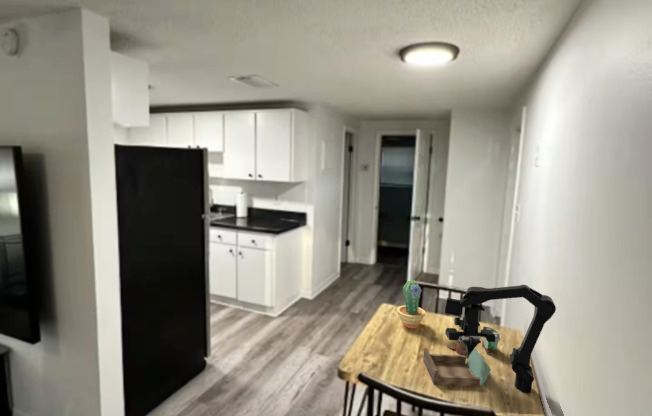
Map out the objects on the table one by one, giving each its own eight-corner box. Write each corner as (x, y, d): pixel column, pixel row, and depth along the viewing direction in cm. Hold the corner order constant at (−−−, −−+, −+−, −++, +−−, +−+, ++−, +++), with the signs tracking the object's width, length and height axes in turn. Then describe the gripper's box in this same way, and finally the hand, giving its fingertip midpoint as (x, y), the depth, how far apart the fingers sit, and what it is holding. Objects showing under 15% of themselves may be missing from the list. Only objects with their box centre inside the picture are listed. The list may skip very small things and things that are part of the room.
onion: (454, 343, 178) (455, 329, 177) (466, 351, 171) (467, 337, 170) (441, 345, 175) (442, 332, 174) (452, 354, 168) (453, 339, 167)
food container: (501, 359, 164) (503, 339, 163) (487, 358, 165) (489, 337, 164) (494, 346, 176) (496, 327, 175) (481, 345, 177) (483, 325, 176)
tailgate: (480, 384, 142) (488, 368, 141) (466, 362, 158) (473, 347, 157) (482, 385, 142) (491, 369, 141) (468, 363, 158) (475, 348, 157)
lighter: (458, 357, 165) (460, 336, 164) (453, 353, 169) (455, 333, 167) (473, 355, 167) (475, 334, 166) (468, 351, 171) (470, 331, 169)
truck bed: (433, 387, 142) (434, 370, 141) (423, 363, 159) (424, 348, 158) (479, 389, 142) (481, 372, 141) (464, 365, 159) (465, 350, 158)
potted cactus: (393, 327, 193) (395, 282, 190) (399, 316, 207) (401, 274, 204) (422, 333, 187) (425, 287, 184) (426, 322, 201) (429, 278, 198)
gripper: (486, 311, 155) (483, 345, 157) (442, 309, 155) (440, 343, 157) (497, 322, 144) (494, 359, 146) (450, 320, 144) (448, 357, 146)
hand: (468, 354), depth 149 cm, fingers closed
